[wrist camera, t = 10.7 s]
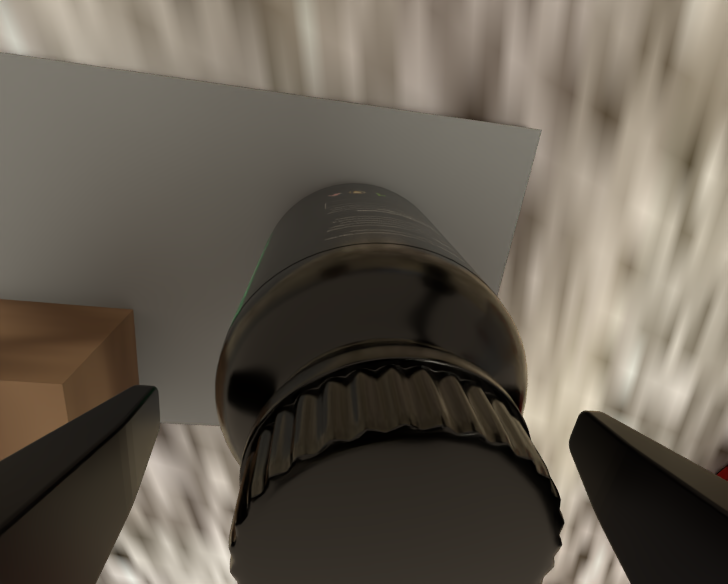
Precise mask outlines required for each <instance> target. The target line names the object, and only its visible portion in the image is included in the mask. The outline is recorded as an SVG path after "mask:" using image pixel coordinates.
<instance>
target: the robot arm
mask: <svg viewBox="0 0 728 584" xmlns="http://www.w3.org/2000/svg"><path fill="white" fill-rule="evenodd" d="M159 428H160V405H159V392H158V389H157V387H155V386H151V385H134V386H132V387H130V388H128V389H126V390H124V391H123V392H121V393H119V394H117V395H116V396H114V397H112V398H110V399H108V400H107V401H105V402H103V403H101V404H100V405H98V406H96V407H94V408H93V409H91V410H89V411H87V412H86V413H84V414H82V415H80V416H78V417H77V418H75V419H73V420H71V421H70V422H68V423H66V424H64V425H63V426H61V427H59V428H57V429H55V430H54V431H52V432H50V433H48V434H47V435H45V436H43V437H41V438H40V439H38V440H36V441H34V442H33V443H31V444H29V445H27V446H25V447H24V448H22V449H20V450H18V451H17V452H15V453H13V454H11V455H10V456H8V457H6V458H4V459H2V460H1V461H0V584H96V582H97V580H98V578H99V576H100V574H101V572H102V570H103V568H104V565H105V563H106V561H107V559H108V557H109V555H110V553H111V551H112V549H113V547H114V544H115V542H116V540H117V538H118V536H119V534H120V532H121V530H122V528H123V526H124V523H125V521H126V519H127V517H128V515H129V513H130V510H131V508H132V506H133V503H134V501H135V498H136V495H137V493H138V490H139V487H140V484H141V481H142V478H143V475H144V472H145V470H146V467H147V464H148V461H149V458H150V455H151V452H152V449H153V446H154V443H155V441H156V438H157V435H158V432H159ZM569 448H570V452H571V455H572V457H573V460H574V462H575V465H576V467H577V470H578V472H579V475H580V477H581V480H582V482H583V485H584V487H585V490H586V492H587V495H588V497H589V500H590V502H591V504H592V507H593V509H594V512H595V514H596V516H597V518H598V520H599V522H600V524H601V527H602V529H603V530H604V532H605V534H606V536H607V538H608V540H609V542H610V544H611V546H612V548H613V550H614V552H615V554H616V556H617V558H618V560H619V562H620V564H621V566H622V568H623V570H624V572H625V573H626V575H627V577H628V579H629V581H630V583H631V584H728V481H726V480H724V479H722V478H721V477H719V476H717V475H715V474H713V473H712V472H710V471H708V470H706V469H704V468H703V467H701V466H699V465H697V464H695V463H694V462H692V461H690V460H688V459H686V458H684V457H683V456H681V455H679V454H677V453H675V452H674V451H672V450H670V449H668V448H666V447H665V446H663V445H661V444H659V443H657V442H656V441H654V440H652V439H650V438H648V437H647V436H645V435H643V434H641V433H639V432H637V431H636V430H634V429H632V428H630V427H628V426H627V425H625V424H623V423H621V422H619V421H618V420H616V419H614V418H612V417H610V416H609V415H607V414H605V413H603V412H600V411H583V412H581V413H580V414H579V416H578V418H577V421H576V424H575V426H574V429H573V431H572V434H571V436H570V440H569Z"/></svg>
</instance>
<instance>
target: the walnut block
mask: <svg viewBox="0 0 728 584" xmlns="http://www.w3.org/2000/svg"><path fill="white" fill-rule="evenodd" d="M134 385H139V375H138V363H137V350H136V338H135V325H134V313H133V309H120V308H108V307H95V306H82V305H70V304H57V303H44V302H32V301H19V300H7V299H0V461H1V460H2V459H4V458H6V457H8V456H10V455H11V454H13V453H15V452H17V451H18V450H20V449H22V448H24V447H25V446H27V445H29V444H31V443H33V442H34V441H36V440H38V439H40V438H41V437H43V436H45V435H47V434H48V433H50V432H52V431H54V430H55V429H57V428H59V427H61V426H63V425H64V424H66V423H68V422H70V421H71V420H73V419H75V418H77V417H78V416H80V415H82V414H84V413H86V412H87V411H89V410H91V409H93V408H94V407H96V406H98V405H100V404H101V403H103V402H105V401H107V400H108V399H110V398H112V397H114V396H116V395H117V394H119V393H121V392H123V391H124V390H126V389H128V388H130V387H132V386H134Z"/></svg>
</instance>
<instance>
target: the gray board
mask: <svg viewBox="0 0 728 584" xmlns="http://www.w3.org/2000/svg"><path fill="white" fill-rule="evenodd" d="M541 131H542V130H539V129H532V128H525V127H518V126H511V125H504V124H497V123H490V122H483V121H476V120H469V119H462V118H455V117H448V116H441V115H434V114H427V113H420V112H413V111H406V110H399V109H392V108H386V107H379V106H372V105H365V104H358V103H351V102H344V101H337V100H330V99H323V98H316V97H309V96H302V95H295V94H288V93H281V92H274V91H267V90H260V89H253V88H246V87H239V86H232V85H225V84H218V83H211V82H204V81H197V80H190V79H183V78H176V77H169V76H162V75H155V74H148V73H141V72H134V71H127V70H120V69H113V68H106V67H99V66H92V65H85V64H78V63H71V62H64V61H57V60H50V59H43V58H36V57H29V56H22V55H15V54H8V53H1V52H0V299H7V300H19V301H32V302H44V303H57V304H70V305H82V306H95V307H108V308H120V309H133V313H134V325H135V338H136V350H137V363H138V375H139V385H151V386H155V387H157V389H158V392H159V405H160V423H170V424H191V425H211V426H220V424H219V420H218V416H217V411H216V403H215V377H216V369H217V365H218V361H219V357H220V353H221V350H222V347H223V343H224V341H225V338H226V335H227V333H228V330H229V328H230V325H231V323H232V321H233V318H234V316H235V314H236V312H237V309H238V307H239V305H240V302H241V300H242V298H243V296H244V293H245V291H246V289H247V287H248V284H249V282H250V280H251V277H252V275H253V273H254V271H255V268H256V266H257V264H258V261H259V259H260V257H261V255H262V252H263V250H264V248H265V246H266V243H267V241H268V239H269V237H270V236H271V234H272V232H273V230H274V228H275V227H276V225H277V223H278V222H279V221H280V219H281V218H282V217H283V216H284V214H285V213H286V212H287V211H288V210H289V209H290V208H291V207H292V206H294V205H295V204H296V203H297V202H299V201H300V200H301V199H303V198H305V197H306V196H308V195H310V194H312V193H314V192H315V191H318V190H321V189H323V188H326V187H330V186H333V185H339V184H347V183H362V184H370V185H375V186H379V187H382V188H385V189H388V190H390V191H392V192H395V193H397V194H399V195H400V196H402V197H404V198H405V199H407V200H408V201H409V202H411V203H412V204H413V205H415V206H416V207H417V208H418V209H419V210H420V211H421V212H422V213H423V214H424V215H425V216H426V217H427V218H428V219H429V220H430V221H431V223H432V224H433V225H434V226H435V227H436V228H437V229H438V230H439V231H440V233H441V234H442V235H443V236H444V237H445V238H446V239H447V240H448V241H449V243H450V244H451V245H452V246H453V247H454V248H455V249H456V250H457V251H458V253H459V254H460V255H461V256H462V257H463V258H464V259H465V260H466V262H467V263H468V264H469V265H470V266H471V267H472V268H473V269H474V270H475V272H476V273H477V274H478V275H479V276H480V277H481V278H482V279H483V280H484V282H485V283H486V284H487V285H488V286H489V287H490V288H491V290H492V291H493V292H494V293H495V294H496V295H498V291H499V287H500V284H501V280H502V276H503V273H504V269H505V265H506V261H507V258H508V254H509V250H510V247H511V243H512V239H513V235H514V232H515V228H516V224H517V220H518V217H519V213H520V209H521V206H522V202H523V198H524V194H525V191H526V187H527V183H528V180H529V176H530V172H531V168H532V165H533V161H534V157H535V154H536V150H537V146H538V142H539V139H540V135H541Z"/></svg>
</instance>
